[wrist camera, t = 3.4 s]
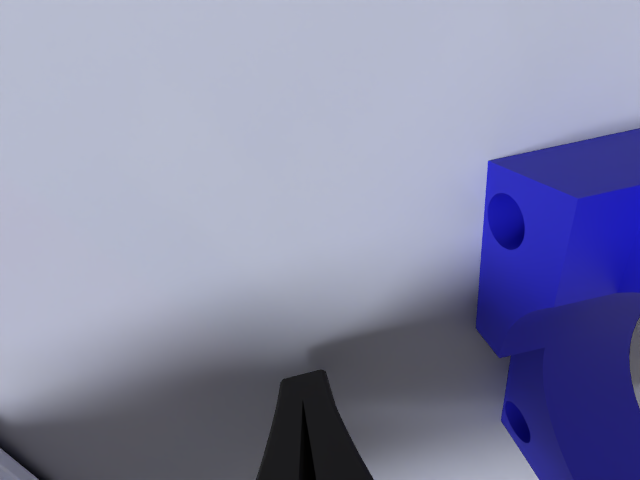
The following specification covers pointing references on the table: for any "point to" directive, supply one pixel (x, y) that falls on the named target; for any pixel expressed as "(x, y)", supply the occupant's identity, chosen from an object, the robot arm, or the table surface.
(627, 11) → the table surface
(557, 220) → the blue curved bracket
